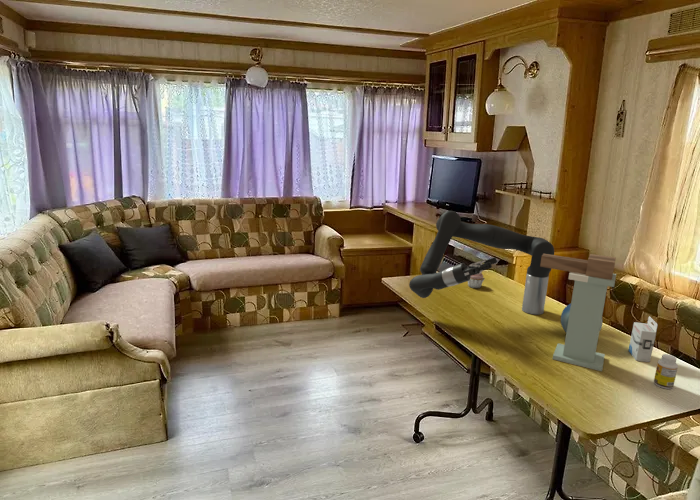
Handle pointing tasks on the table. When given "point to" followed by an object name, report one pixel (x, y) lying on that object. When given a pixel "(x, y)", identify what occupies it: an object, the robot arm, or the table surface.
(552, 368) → the table surface
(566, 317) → the decorative ball
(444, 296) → the table surface
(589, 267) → the walnut block
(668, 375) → the supplement bottle
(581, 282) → the stand
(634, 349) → the ink box
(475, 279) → the cupcake
